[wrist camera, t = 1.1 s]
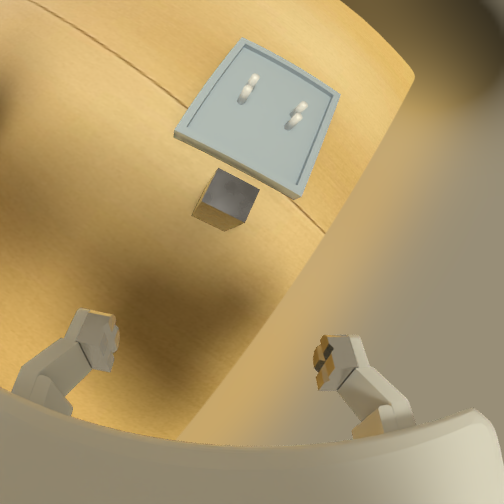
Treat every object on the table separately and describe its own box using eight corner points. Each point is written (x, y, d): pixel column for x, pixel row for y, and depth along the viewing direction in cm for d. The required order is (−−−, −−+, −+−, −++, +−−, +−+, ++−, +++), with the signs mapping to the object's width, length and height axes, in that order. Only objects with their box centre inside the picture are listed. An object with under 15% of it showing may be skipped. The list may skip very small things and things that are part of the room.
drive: (191, 215, 38) (201, 201, 28) (204, 188, 39) (219, 166, 29) (224, 231, 39) (244, 222, 30) (236, 204, 40) (260, 188, 30)
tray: (173, 137, 37) (175, 120, 32) (238, 45, 40) (247, 26, 35) (293, 199, 43) (311, 192, 37) (333, 100, 46) (350, 87, 41)
